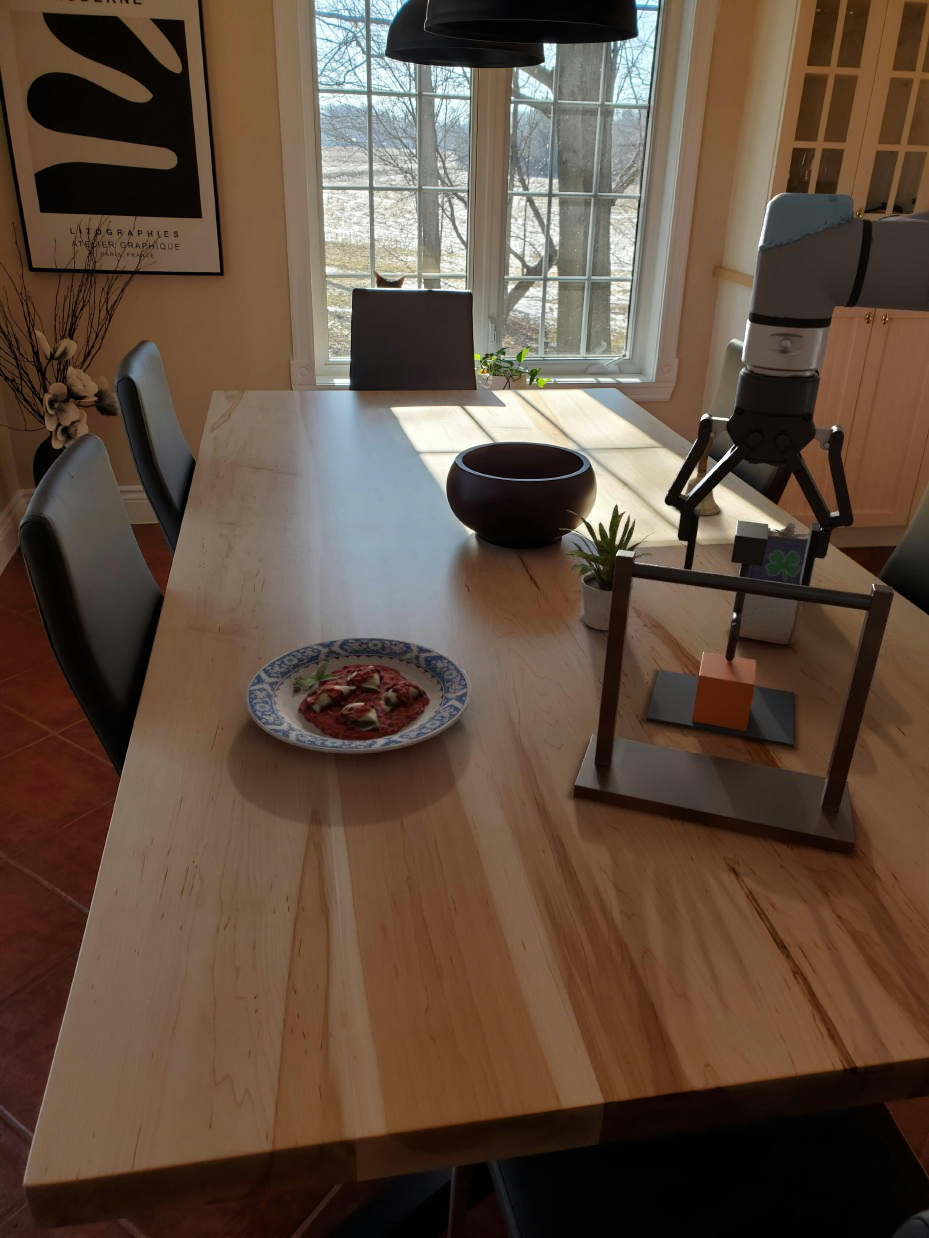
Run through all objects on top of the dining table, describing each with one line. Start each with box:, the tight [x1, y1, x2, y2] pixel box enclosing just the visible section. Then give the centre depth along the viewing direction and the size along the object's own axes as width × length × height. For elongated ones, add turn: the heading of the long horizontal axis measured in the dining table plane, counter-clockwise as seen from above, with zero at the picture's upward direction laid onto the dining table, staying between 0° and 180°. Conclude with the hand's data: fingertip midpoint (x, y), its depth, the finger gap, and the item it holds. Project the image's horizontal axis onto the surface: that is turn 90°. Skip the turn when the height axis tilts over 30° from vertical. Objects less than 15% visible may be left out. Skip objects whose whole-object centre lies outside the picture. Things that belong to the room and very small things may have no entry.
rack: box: [573, 550, 895, 856], centre depth 85 cm, size 26×10×24 cm, turn 72°
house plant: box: [560, 503, 655, 631], centre depth 123 cm, size 14×14×16 cm
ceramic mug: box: [739, 594, 804, 645], centre depth 122 cm, size 11×8×8 cm
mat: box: [646, 669, 795, 748], centre depth 106 cm, size 16×12×1 cm
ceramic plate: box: [245, 636, 473, 755], centre depth 104 cm, size 26×26×3 cm
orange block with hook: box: [692, 520, 769, 731], centre depth 99 cm, size 6×6×22 cm
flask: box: [748, 521, 816, 586], centre depth 135 cm, size 9×3×11 cm, turn 80°
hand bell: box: [675, 439, 721, 516], centre depth 168 cm, size 8×8×16 cm
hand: (744, 576), depth 96 cm, fingers open, 11 cm apart
